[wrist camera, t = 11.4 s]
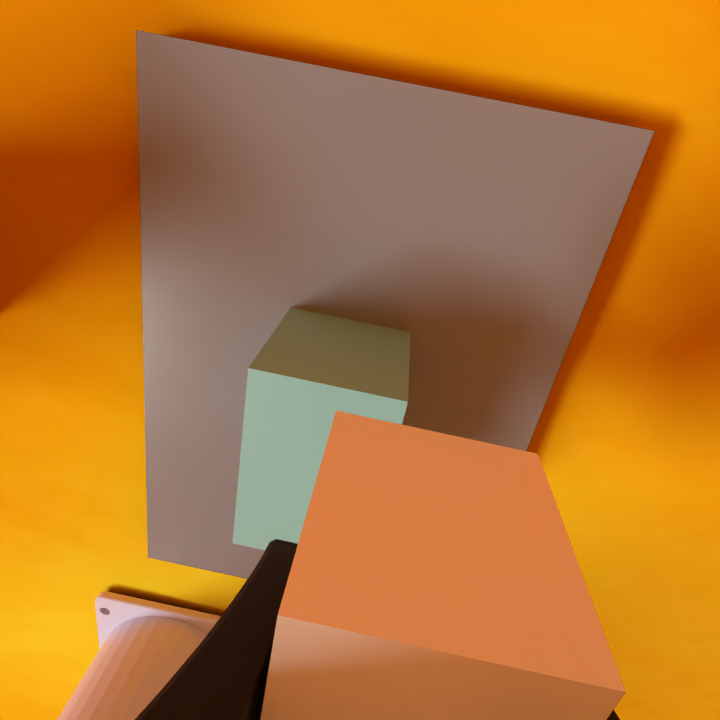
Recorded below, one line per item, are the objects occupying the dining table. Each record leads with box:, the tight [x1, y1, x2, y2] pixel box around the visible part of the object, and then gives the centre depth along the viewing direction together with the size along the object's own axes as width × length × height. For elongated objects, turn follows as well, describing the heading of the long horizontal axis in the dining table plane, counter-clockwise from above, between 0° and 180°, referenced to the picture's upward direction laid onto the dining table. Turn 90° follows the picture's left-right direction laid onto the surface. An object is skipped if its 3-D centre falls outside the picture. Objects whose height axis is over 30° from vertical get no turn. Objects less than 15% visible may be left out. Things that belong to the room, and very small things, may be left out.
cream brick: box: [260, 411, 625, 720], centre depth 9 cm, size 6×4×4 cm, turn 170°
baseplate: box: [136, 30, 654, 579], centre depth 18 cm, size 20×14×1 cm
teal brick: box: [233, 307, 411, 550], centre depth 15 cm, size 6×4×4 cm, turn 170°
